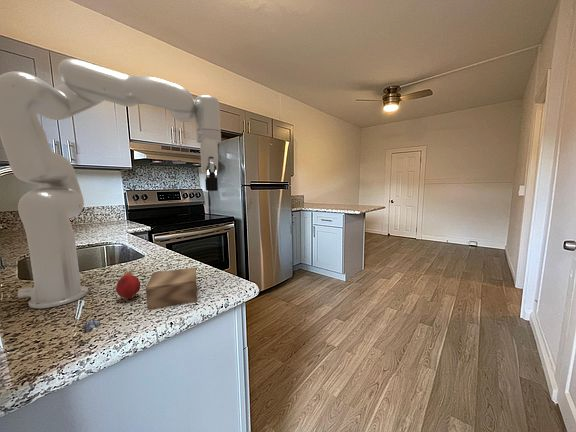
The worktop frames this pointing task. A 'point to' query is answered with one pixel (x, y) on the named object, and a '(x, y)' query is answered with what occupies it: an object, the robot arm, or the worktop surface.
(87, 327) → the blueberries
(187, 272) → the walnut block
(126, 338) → the worktop surface
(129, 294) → the onion
